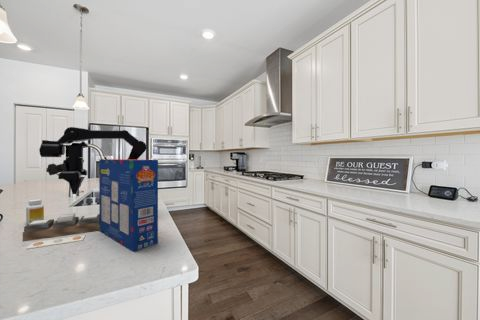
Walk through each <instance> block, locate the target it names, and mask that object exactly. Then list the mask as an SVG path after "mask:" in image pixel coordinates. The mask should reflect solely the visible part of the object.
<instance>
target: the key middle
mask: <svg viewBox="0 0 480 320" xmlns="http://www.w3.org/2000/svg"><path fill="white" fill-rule="evenodd" d="M75 217H76V212H74V213H73V212H72V213H65V214H60V215H59V216H57V217H56V220H57V223H58V222H66V221H74V220H75Z"/></svg>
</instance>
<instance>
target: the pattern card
mask: <svg viewBox="0 0 480 320" xmlns="http://www.w3.org/2000/svg"><path fill="white" fill-rule="evenodd" d="M85 238H86V234H84V235H76V236H69V237H63V238H62V237H61V238H56V239H48V240H41V241H40V240H39V241H34V242H32V243H30V244H29V245H28V246H27V247H26V248H25V249H26V250H31V249H37V248H44V247H50V246H51V247H52V246H58V245H64V244H70V243H76V242H82V241H84V239H85Z"/></svg>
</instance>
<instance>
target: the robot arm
mask: <svg viewBox="0 0 480 320" xmlns="http://www.w3.org/2000/svg"><path fill="white" fill-rule="evenodd" d="M91 140H124V141H125V142H126V143H127V144H128V145H130V146H131V149H130V153H129V155H128V158H127V159H131V160H139V159H140V157H141V156H142V155H143V154H144V153H145V152H146V150H147V143H145V142H144V141H142V140H138V139H137V138H136V137H135V136H133V135H132V134H131V133H129V131H128V130H126V129H122V130H108V129H107V130H103V129H101V130H100V129H99V130H95V129H94V130H92V129H87V128H80V127H75V126H70V127H67V128H66V129H65V130H64V132H63V135H62V136H61V137H60V138H59V139H58V140H47V139H45V140H44V139H42V140H41V143H40V146H39V149H38V150H39V155H40V158H62V156H64V155H65V159H63V162H62V163H60V164H55V163H49V164H48V165H47V167H46V173H48V174H49V176H53V175H57V174H58V180H64V181H66V182H67V183H68V184H69V188H70V190H71V193H72V195H76V194H77V193H78V192H79V189H80V188H81V185H82V183H83V182H84V180H85V178H86V177H85V176H88V170H86V169H85V168H84V162H85V159H84V148H89V144H87V143H86V142H85V141H91Z"/></svg>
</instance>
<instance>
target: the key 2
mask: <svg viewBox="0 0 480 320" xmlns="http://www.w3.org/2000/svg"><path fill="white" fill-rule="evenodd" d="M83 216H84V217H83ZM83 216H82V217H83V220H84V219H93V218H98V213H95V214H94V213H93V214H85V215H83Z"/></svg>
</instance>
